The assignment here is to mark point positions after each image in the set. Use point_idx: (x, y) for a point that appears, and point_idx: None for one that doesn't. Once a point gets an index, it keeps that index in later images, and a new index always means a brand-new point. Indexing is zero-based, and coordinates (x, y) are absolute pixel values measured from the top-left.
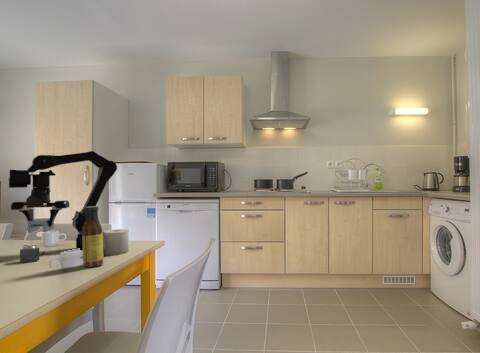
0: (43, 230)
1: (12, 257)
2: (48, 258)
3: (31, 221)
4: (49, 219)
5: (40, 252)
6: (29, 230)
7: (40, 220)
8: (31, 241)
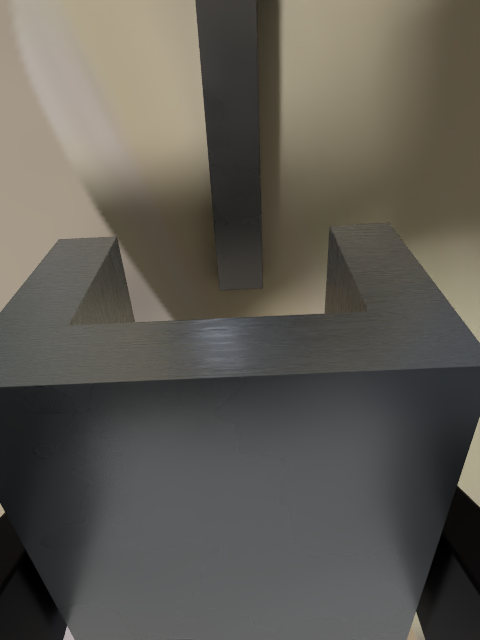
0: (101, 249)
1: (463, 171)
2: (63, 10)
3: (377, 368)
4: (45, 577)
5: (237, 242)
6: (366, 243)
7: (174, 475)
8: None
